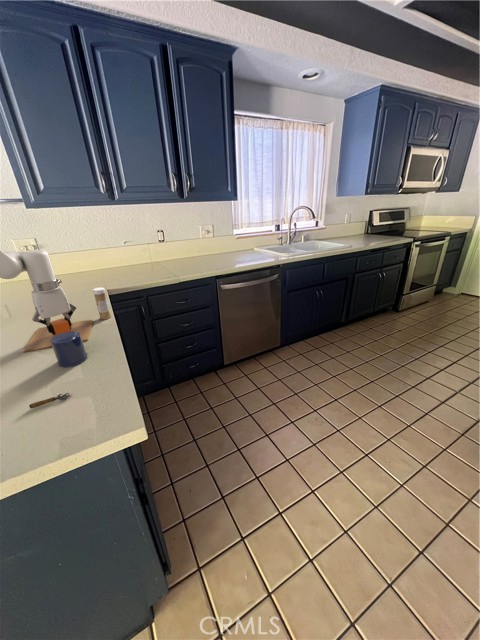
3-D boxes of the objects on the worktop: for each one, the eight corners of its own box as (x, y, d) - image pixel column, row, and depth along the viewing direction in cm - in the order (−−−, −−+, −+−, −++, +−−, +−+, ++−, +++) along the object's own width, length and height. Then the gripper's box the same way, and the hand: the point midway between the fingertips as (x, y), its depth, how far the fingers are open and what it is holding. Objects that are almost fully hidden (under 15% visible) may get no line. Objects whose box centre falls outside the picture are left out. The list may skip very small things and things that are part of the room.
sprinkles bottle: (100, 316, 119) (93, 287, 113) (111, 315, 120) (104, 286, 114) (99, 320, 115) (91, 290, 109) (110, 318, 116) (103, 289, 110)
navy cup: (55, 370, 81) (46, 345, 77) (60, 356, 88) (52, 333, 84) (86, 363, 84) (78, 340, 80) (89, 351, 91) (82, 329, 87)
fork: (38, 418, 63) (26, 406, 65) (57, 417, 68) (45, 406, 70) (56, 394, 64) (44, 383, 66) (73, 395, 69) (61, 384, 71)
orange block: (57, 337, 99) (53, 325, 97) (52, 334, 102) (48, 322, 100) (71, 332, 103) (67, 320, 101) (66, 329, 106) (62, 318, 104)
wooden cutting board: (23, 352, 91) (22, 351, 91) (38, 329, 108) (38, 328, 108) (88, 340, 98) (87, 339, 97) (93, 320, 115) (92, 319, 114)
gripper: (66, 278, 103) (79, 321, 110) (13, 290, 91) (32, 336, 98) (75, 281, 99) (88, 325, 106) (20, 294, 87) (39, 342, 94)
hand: (61, 330), depth 102 cm, fingers closed on orange block, 4 cm apart
